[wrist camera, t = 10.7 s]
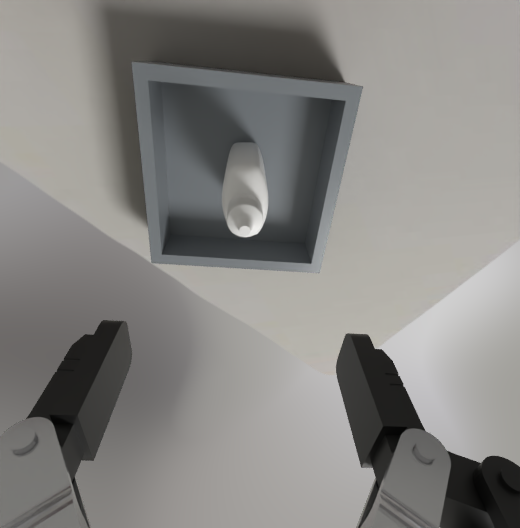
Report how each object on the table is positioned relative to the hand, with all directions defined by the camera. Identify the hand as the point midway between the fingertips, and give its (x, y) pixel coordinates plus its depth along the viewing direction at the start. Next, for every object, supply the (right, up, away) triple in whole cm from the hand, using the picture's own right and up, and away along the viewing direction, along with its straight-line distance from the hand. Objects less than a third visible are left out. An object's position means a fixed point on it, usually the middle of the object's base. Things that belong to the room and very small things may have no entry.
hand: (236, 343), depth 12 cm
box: (-1, +12, +19) cm, 22 cm away
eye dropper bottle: (0, +12, +18) cm, 22 cm away
